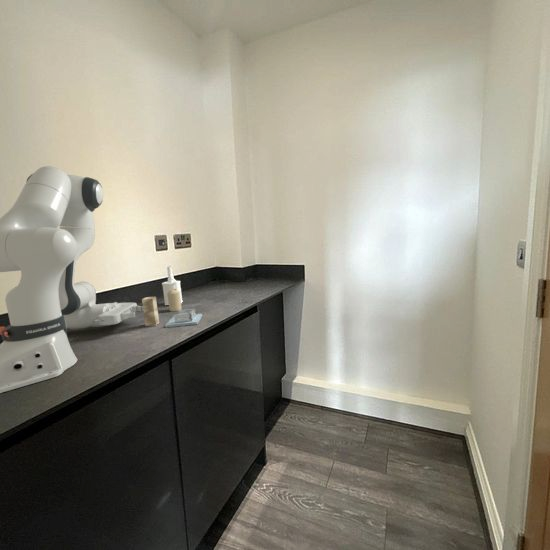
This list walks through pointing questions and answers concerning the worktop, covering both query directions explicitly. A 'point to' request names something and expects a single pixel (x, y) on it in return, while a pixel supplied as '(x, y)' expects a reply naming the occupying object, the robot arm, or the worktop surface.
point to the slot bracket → (185, 315)
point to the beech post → (150, 311)
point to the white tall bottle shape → (171, 285)
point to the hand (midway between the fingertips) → (140, 311)
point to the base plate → (193, 322)
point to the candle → (174, 300)
